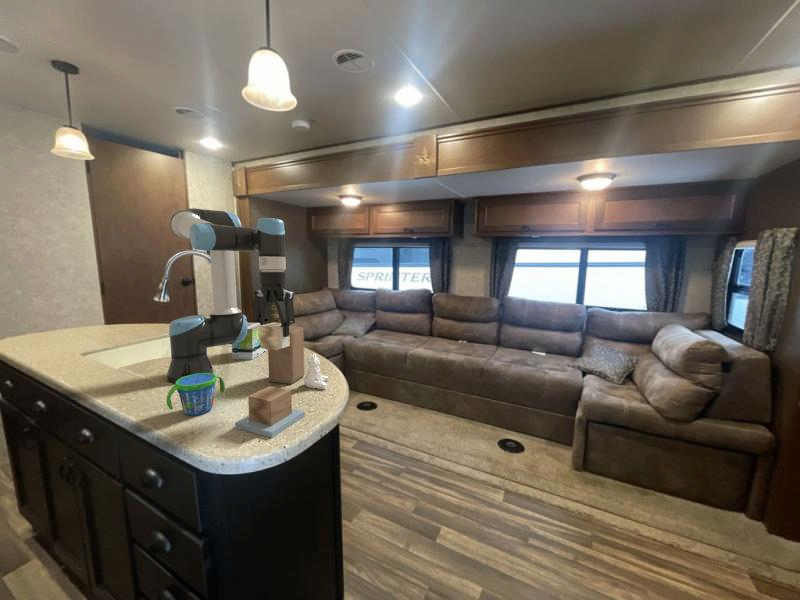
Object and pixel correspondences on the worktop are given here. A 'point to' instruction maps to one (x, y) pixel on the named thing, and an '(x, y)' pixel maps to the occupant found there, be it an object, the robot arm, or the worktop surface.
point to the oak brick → (271, 336)
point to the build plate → (266, 429)
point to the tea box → (248, 344)
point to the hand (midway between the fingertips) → (275, 345)
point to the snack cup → (196, 392)
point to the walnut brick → (270, 405)
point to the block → (288, 359)
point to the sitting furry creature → (315, 374)
